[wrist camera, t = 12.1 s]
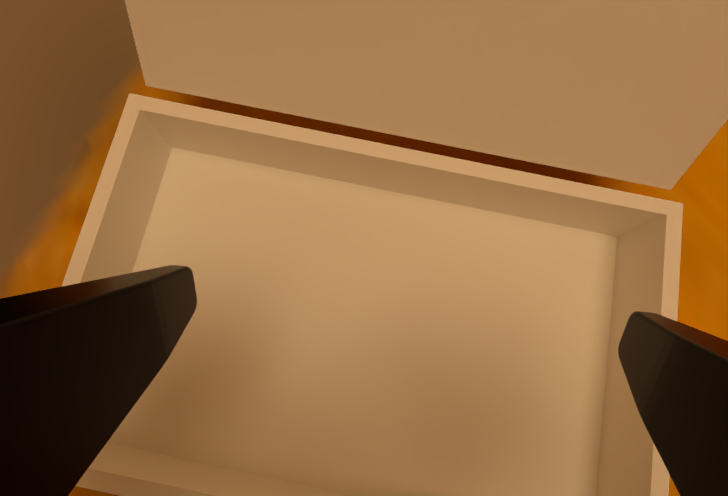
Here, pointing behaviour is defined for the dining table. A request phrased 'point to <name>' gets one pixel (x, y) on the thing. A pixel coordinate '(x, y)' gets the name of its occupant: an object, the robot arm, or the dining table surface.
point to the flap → (465, 72)
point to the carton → (375, 316)
